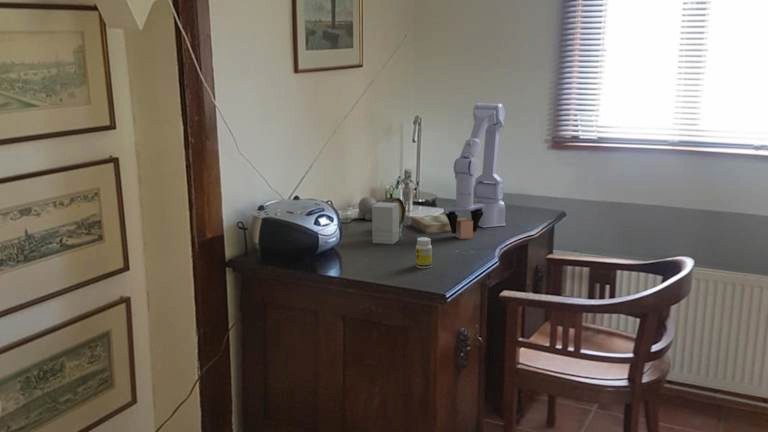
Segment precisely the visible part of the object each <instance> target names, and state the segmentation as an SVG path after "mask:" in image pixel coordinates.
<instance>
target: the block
mask: <svg viewBox="0 0 768 432" xmlns="http://www.w3.org/2000/svg"><path fill="white" fill-rule="evenodd" d="M473 233H474V232H473V221H472V219H471V218H468V217H464V218H457V223H456V234H454V236H455V237H457V238H458V239H460V240H464V239H473V237H474V236H473Z"/></svg>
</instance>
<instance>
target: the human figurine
mask: <svg viewBox="0 0 768 432" xmlns="http://www.w3.org/2000/svg"><path fill="white" fill-rule="evenodd" d="M403 171H404V174H403V175H404V177H402V180H401V181H400V182H399V183H398V184H397V185H396V186H394V187H393V188H394V190H396V189H397V188H398V187H399V186H400V185H401V184H403V185H404V186H403V189H402V197H403V201H404V202H403V204H404V208H405V216H406V217H410V214H411V211H410V210H411V199H412V193H413V189H412V188H411V187H410V184H411V183H412V184H413V185H414V187H416V188H417V189H418V190H419V192H420V193H423V190H422V189H421V188H420V187H419V186H418V184H416V183H415V181H414V180H413V179H412V178H413V177H412V170H411V168H404V170H403ZM407 205H408V206H407ZM407 212H408V213H407Z"/></svg>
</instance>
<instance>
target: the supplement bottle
mask: <svg viewBox="0 0 768 432" xmlns="http://www.w3.org/2000/svg"><path fill="white" fill-rule="evenodd" d="M431 240H432V239H431V238H429V237H424V236H423V237H418V238H417V239H416V245H415V266H416V268H419V269H428V268H429V267H430V268H431V267H432V266H433V264H432V263H433V259H432V257H433V256H432V255H433V254H432V253H433V247H432V246H433V245H431V242H432V241H431Z"/></svg>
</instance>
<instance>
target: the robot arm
mask: <svg viewBox="0 0 768 432" xmlns="http://www.w3.org/2000/svg"><path fill="white" fill-rule="evenodd" d="M472 109H473V110H472V116H473V121H474V123H473V127H472V129H471V130H472V131H471V135H470V138H468V139H467V140H465V141H464V142H465V143H464V145H463V148H462V150H461V153H460V155H459V157H458V158H456V159H455V160H454V163H453V173H454V179H455V180H456V187H455V188H456V190H455V192H456V193H455V194H456V195H455V196H456V197H455V204H454V205H448V206H443V214H446V216H447V218H448V221H449V223H450V227H451V231H450V232H451V234H453V235H455V234H456V223H457V219H459V217H458V216H459V215H458V214H456V213H463V212H465V213H466V212H470V215H471V218H470V219H471V220H472V221H473V233H476V232H477V229H478V226H479V227H481V228H493V227H495V228H496V227H505V226H506V223H505V221H506V205H505V202H504V200H502V199H503V196H504V192H505V191H504V180H503V179H502V178H501V177H500V176H499V175H498V174H497V165H498V153H499V142H500V141H499V138H500V131H501V130H500V129H501V128H503V127H504V124H505V117H506V116H505V115H506V110H505V108H504V105H503V104H502V103H481V102H477V103H475V104H474V106H473V108H472ZM483 136H484V147H483V158H482V159H483V160H482V172H481V173H482V174H480V175H478V176H477V177H476V178H475V180H474V175H475V174H476V172H477V171H478V170H477V169H478V162H479V161H478V158H479V155H480V152H481V151H482V150H481V149H482V144H481V141H482V138H483ZM474 198H475V199H476V202H477V203H474Z"/></svg>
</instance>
